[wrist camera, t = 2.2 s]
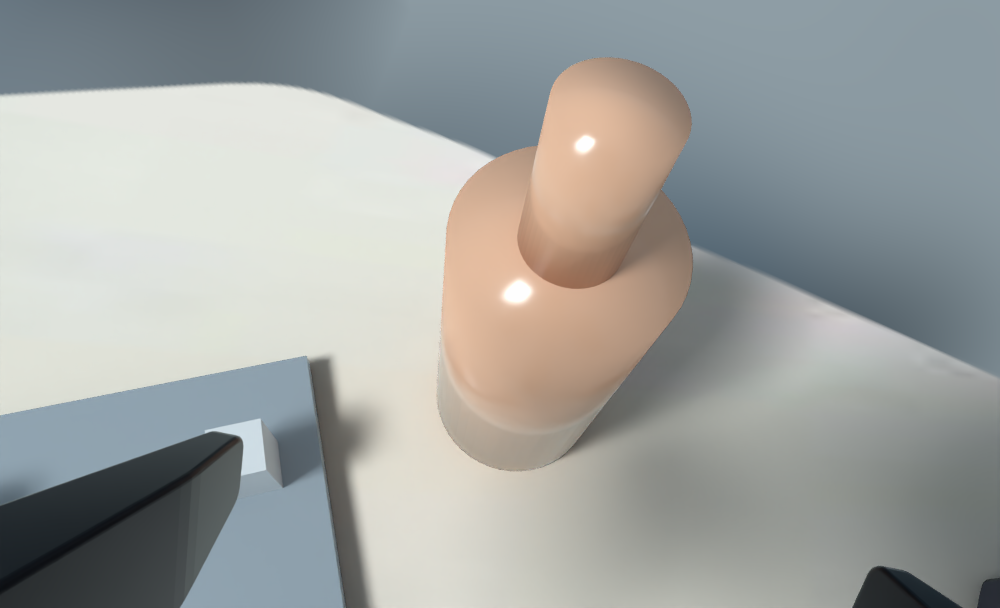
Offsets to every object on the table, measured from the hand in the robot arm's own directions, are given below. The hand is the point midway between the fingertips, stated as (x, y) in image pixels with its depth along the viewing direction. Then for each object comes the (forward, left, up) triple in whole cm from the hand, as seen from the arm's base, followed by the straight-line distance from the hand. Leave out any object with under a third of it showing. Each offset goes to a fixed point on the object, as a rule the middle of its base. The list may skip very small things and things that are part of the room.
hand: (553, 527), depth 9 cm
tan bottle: (+3, -5, -12) cm, 14 cm away
